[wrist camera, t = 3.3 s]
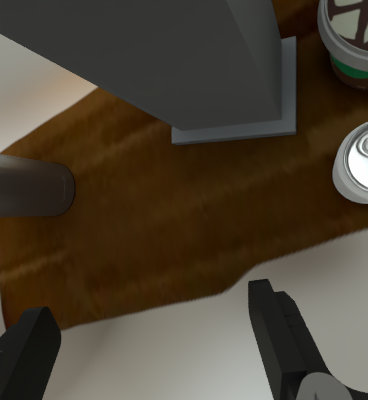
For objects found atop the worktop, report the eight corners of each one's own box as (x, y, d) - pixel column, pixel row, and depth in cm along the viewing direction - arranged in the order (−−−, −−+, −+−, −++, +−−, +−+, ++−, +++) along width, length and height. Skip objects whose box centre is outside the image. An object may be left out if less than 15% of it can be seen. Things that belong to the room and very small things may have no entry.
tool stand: (170, 152, 42) (-140, 42, 14) (171, 70, 42) (-133, -205, 14) (305, 141, 34) (226, -167, 6) (305, 40, 34) (230, -719, 6)
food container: (308, 20, 34) (303, -48, 25) (368, -6, 31) (386, -92, 22) (331, 119, 33) (335, 86, 24) (396, 100, 30) (427, 55, 21)
